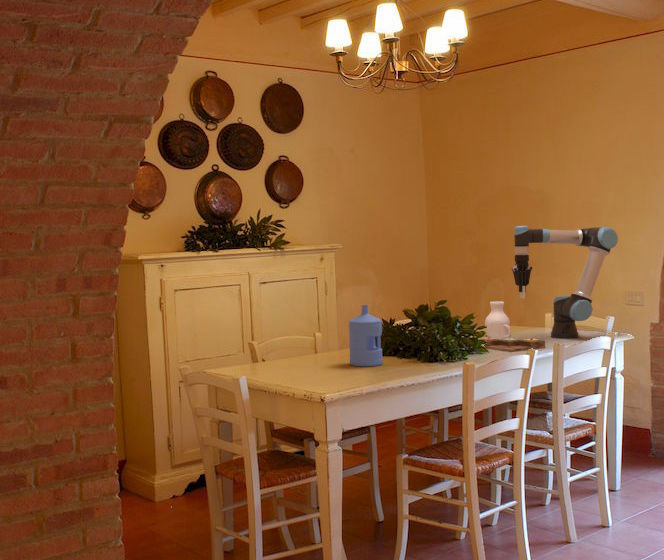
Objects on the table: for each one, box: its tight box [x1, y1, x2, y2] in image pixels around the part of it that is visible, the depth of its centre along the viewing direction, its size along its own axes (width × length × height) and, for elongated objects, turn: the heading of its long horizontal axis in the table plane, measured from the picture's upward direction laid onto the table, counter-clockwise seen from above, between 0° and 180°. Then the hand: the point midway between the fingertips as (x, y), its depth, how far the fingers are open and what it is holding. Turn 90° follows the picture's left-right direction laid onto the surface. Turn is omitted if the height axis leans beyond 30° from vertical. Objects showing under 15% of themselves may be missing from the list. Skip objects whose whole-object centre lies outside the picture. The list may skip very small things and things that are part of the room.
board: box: [484, 339, 546, 353], centre depth 445 cm, size 24×27×4 cm
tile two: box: [481, 337, 497, 341], centre depth 449 cm, size 6×6×3 cm
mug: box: [490, 321, 512, 340], centre depth 472 cm, size 12×8×10 cm
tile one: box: [502, 337, 519, 342], centre depth 445 cm, size 6×6×3 cm
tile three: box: [522, 338, 541, 342], centre depth 441 cm, size 6×6×3 cm
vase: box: [484, 300, 511, 338], centre depth 490 cm, size 14×14×20 cm
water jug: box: [348, 304, 384, 368], centre depth 400 cm, size 16×16×28 cm
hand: (522, 298), depth 458 cm, fingers closed
